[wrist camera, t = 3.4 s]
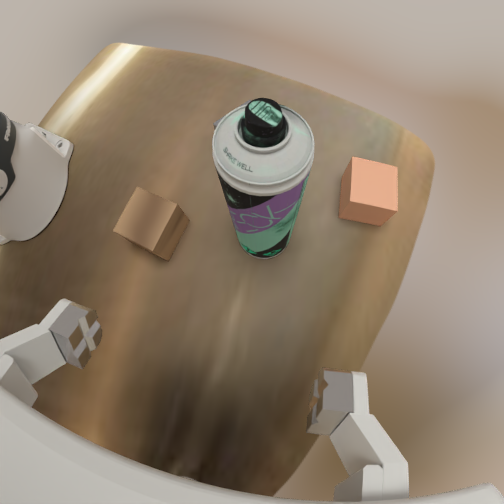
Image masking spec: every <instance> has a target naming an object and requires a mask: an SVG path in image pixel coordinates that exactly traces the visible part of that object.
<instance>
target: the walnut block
mask: <svg viewBox="0 0 504 504" xmlns="http://www.w3.org/2000/svg"><path fill="white" fill-rule="evenodd" d="M189 221H190V220H189V219H188V218H187V216H186V215H185V214H184V212H183V211H182V209H181V208H180V207H179V205H178V204H176V203H174V202H172V201H169V200H167V199H165V198H162V197H160V196H157V195H155V194H153V193H150V192H148V191H146V190H143V189H141V188H138V187H137V188H136V190H135V191H134V193H133V195H132V197H131V198H130V200H129V202H128V204H127V205H126V207H125V209H124V211H123V213H122V215H121V217H120V218H119V220H118V222H117V224H116V226H115V228H114V230H113V231H114V232H116V233H117V234H119V235H120V236H122V237H124V238H125V239H127V240H128V241H130V242H131V243H133V244H135V245H137V246H139V247H141V248H143V249H145V250H147V251H149V252H151V253H153V254H155V255H157V256H159V257H161V258H163V259H165V260H167V261H169V260H170V258H171V256H172V254H173V252H174V250H175V248H176V246H177V244H178V242H179V240H180V238H181V236H182V234H183V232H184V230H185V228H186V226H187V224H188V222H189Z"/></svg>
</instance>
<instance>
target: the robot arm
mask: <svg viewBox="0 0 504 504" xmlns="http://www.w3.org/2000/svg"><path fill="white" fill-rule="evenodd" d="M72 151H73V144H72V143H71V142H70V141H68V140H66V139H64V138H62V137H60V136H58V135H56V134H54V133H52V132H49V131H47V130H45V129H43V128H41V127H39V126H37V125H35V124H32V123H27V124H25V125H22V124H20V123H17V122H15V121H12V120H10V119H9V118H8V117H7V116H6V115H5V114H4V113H2V112H0V244H5V243H7V242H9V241H10V240H17V241H24V240H28V239H31V238H33V237H34V236H36V235H37V234H39V233H40V232H41V231H42V230H43V229H44V228H45V227H46V226H47V225H48V223H49V222H50V221H51V219H52V218H53V216H54V215H55V213H56V211H57V210H58V208H59V206H60V203H61V201H62V199H63V196H64V193H65V189H66V185H67V178H68V162H69V159H70V157H71V154H72ZM97 318H98V316H97V313H96V311H95V310H92V309H90V308H87V307H84V306H82V305H79V304H77V303H75V302H72V301H70V300H67V299H61V300H60V301H59V302H58V303H57V304H56V305H55V306H54V308H53V309H52V310H51V311H50V312H49V313H48V315H47V316H46V317H45V318H44V319H43V320H42V322H41V323H40V324H39V325H38V324H35V325H32V326H30V327H28V328H26V329H23V330H21V331H19V332H16V333H14V334H12V335H9V336H7V337H5V338H3V339H0V504H504V497H503V495H502V494H501V493H500V492H499V490H498V489H497V488H496V487H495V486H494V485H493V484H491V483H483V484H479V485H475V486H471V487H467V488H463V489H459V490H454V491H449V492H444V493H439V494H433V495H427V496H420V497H412V498H409V478H408V463H407V461H406V460H405V459H404V457H403V456H402V454H401V453H400V451H399V450H398V449H397V447H396V446H395V444H394V443H393V442H392V440H391V439H390V437H389V436H388V435H387V433H386V432H385V430H384V429H383V428H382V426H381V425H380V424H379V422H378V421H377V419H376V418H375V416H374V415H371V414H369V402H368V389H367V388H368V387H367V376H366V374H365V373H362V372H353V371H348V370H340V369H332V368H325V367H322V368H321V369H320V371H319V373H318V379H317V380H315V381H314V383H313V385H312V388H311V392H310V397H309V406H310V408H311V411H310V413H309V415H308V417H307V429H306V432H307V433H313V434H321V435H329V436H330V439H331V441H332V443H333V445H334V447H335V449H336V451H337V453H338V455H339V457H340V459H341V461H342V463H343V465H344V466H345V469H346V471H347V472H348V474H349V476H350V477H348V478H347V479H346V480H344V481H342V482H341V483H339V484H338V485H336V486H335V492H334V501H312V500H298V499H288V498H279V497H271V496H264V495H258V494H252V493H246V492H241V491H235V490H231V489H226V488H221V487H217V486H213V485H209V484H205V483H201V482H197V481H193V480H190V479H186V478H183V477H180V476H176V475H173V474H170V473H167V472H164V471H161V470H158V469H155V468H152V467H150V466H147V465H144V464H142V463H139V462H136V461H134V460H131V459H129V458H127V457H124V456H122V455H119V454H117V453H115V452H112V451H110V450H108V449H106V448H104V447H102V446H99V445H97V444H95V443H93V442H91V441H89V440H87V439H85V438H83V437H81V436H79V435H77V434H76V433H74V432H72V431H70V430H68V429H66V428H65V427H63V426H61V425H59V424H58V423H56V422H54V421H53V420H51V419H49V418H48V417H46V416H44V415H43V414H41V413H39V412H38V411H36V410H35V409H33V408H32V405H33V403H34V402H35V400H36V398H37V397H38V394H37V392H36V390H35V389H34V388H33V386H32V384H34V383H35V382H37V381H38V380H40V379H42V378H43V377H45V376H46V375H48V374H50V373H51V372H53V371H54V370H56V369H57V368H59V367H61V366H62V365H64V364H65V363H66V362H67V363H70V364H72V365H74V366H76V367H79V368H81V369H83V368H84V367H85V365H86V364H87V362H88V361H89V359H90V357H91V352H90V351H92V350H94V349H96V348H97V347H98V345H99V343H100V341H101V337H102V329H101V326H100V324H99V323H98V322H97V321H96V320H97Z"/></svg>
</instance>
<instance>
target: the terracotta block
mask: <svg viewBox="0 0 504 504" xmlns="http://www.w3.org/2000/svg"><path fill="white" fill-rule="evenodd" d="M397 211H398V179H397V167H395V166H391V165H387V164H383V163H379V162H375V161H370V160H366V159H362V158H357V157H353V156H352V158H351V160H350V162H349V164H348V166H347V168H346V170H345V172H344V174H343V176H342V180H341V194H340V206H339V217H338V218H342V219H347V220H352V221H358V222H363V223H368V224H373V225H378V226H381V225H382V224H383V223H385V222H386V221H387V220H388V219H389V218H390V217H392V216H393V215H394V214H395V213H396V212H397Z"/></svg>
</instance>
